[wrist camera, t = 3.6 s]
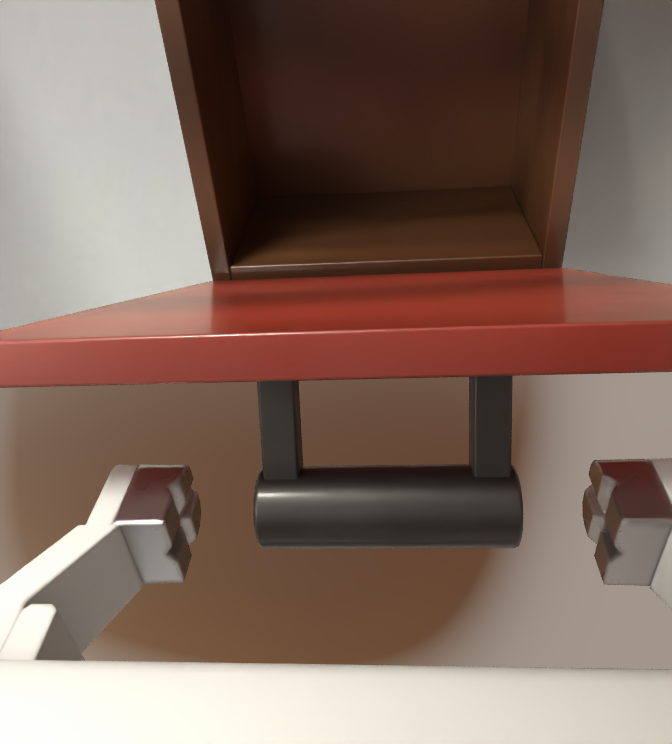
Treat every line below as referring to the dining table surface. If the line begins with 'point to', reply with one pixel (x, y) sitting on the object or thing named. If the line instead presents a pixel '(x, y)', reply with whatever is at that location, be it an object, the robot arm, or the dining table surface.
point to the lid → (365, 361)
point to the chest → (381, 131)
